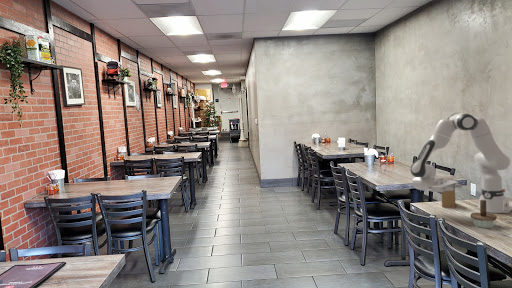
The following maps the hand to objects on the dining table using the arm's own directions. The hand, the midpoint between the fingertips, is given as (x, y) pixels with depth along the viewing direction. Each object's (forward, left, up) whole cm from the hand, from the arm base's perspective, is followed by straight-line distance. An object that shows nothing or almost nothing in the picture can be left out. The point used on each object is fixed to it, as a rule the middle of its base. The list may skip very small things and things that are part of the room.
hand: (457, 187), depth 221 cm
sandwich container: (-28, -23, -20) cm, 42 cm away
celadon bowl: (+1, +15, -20) cm, 25 cm away
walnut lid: (+1, +15, -16) cm, 22 cm away
